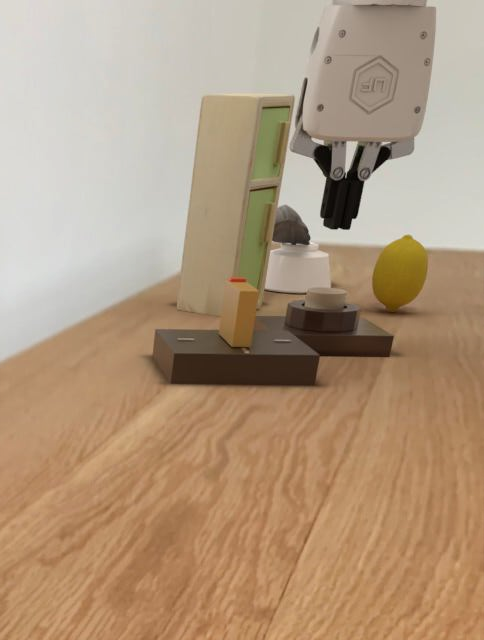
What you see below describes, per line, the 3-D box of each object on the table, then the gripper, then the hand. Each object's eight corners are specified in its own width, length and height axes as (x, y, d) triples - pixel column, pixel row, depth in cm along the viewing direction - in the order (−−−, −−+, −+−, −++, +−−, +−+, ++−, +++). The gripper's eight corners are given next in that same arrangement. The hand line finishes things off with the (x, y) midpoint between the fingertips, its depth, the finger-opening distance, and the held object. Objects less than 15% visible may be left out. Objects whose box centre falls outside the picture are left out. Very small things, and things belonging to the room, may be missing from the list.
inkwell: (338, 285, 139) (355, 197, 134) (304, 308, 126) (321, 211, 120) (265, 279, 143) (278, 193, 138) (224, 300, 130) (237, 206, 124)
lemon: (417, 318, 121) (435, 239, 117) (364, 314, 123) (380, 236, 118) (417, 310, 125) (435, 233, 121) (366, 306, 127) (381, 230, 123)
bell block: (358, 340, 111) (367, 297, 109) (389, 360, 103) (398, 315, 101) (248, 338, 111) (255, 296, 109) (270, 358, 103) (278, 313, 101)
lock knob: (250, 347, 93) (260, 287, 90) (231, 347, 93) (240, 287, 90) (236, 334, 98) (244, 276, 95) (218, 334, 98) (226, 276, 95)
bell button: (336, 306, 107) (340, 287, 106) (348, 313, 104) (352, 294, 103) (299, 306, 107) (302, 287, 106) (309, 313, 104) (313, 293, 103)
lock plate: (282, 365, 101) (289, 328, 99) (313, 392, 92) (320, 353, 91) (151, 363, 101) (155, 327, 100) (169, 390, 93) (174, 351, 91)
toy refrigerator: (233, 319, 120) (265, 94, 109) (174, 310, 124) (200, 93, 113) (268, 310, 125) (303, 94, 114) (211, 301, 129) (239, 92, 118)
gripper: (304, -18, 89) (264, 231, 98) (490, -15, 89) (432, 235, 98) (280, -13, 95) (245, 221, 105) (454, -10, 95) (403, 224, 105)
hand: (336, 227), depth 102 cm, fingers closed
